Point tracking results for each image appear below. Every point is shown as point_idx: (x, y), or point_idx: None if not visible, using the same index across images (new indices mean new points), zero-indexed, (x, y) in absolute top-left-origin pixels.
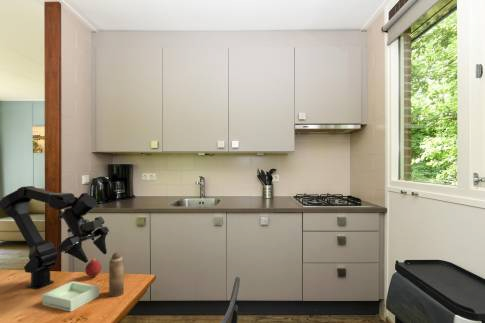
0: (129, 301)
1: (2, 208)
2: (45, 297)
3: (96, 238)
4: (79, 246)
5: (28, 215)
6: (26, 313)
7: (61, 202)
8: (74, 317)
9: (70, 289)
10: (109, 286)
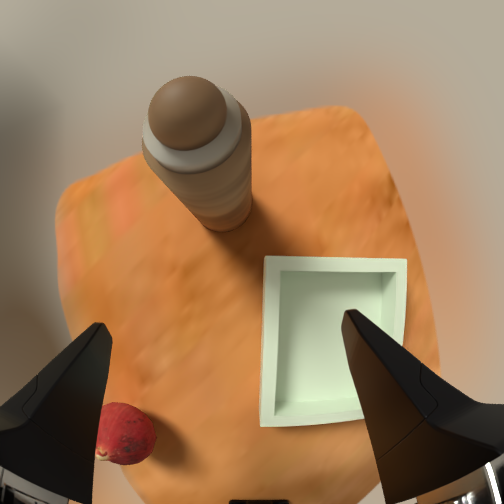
0: (259, 118)
1: None
2: None
3: (49, 499)
4: (478, 417)
5: None
6: None
7: None
8: (403, 217)
9: (279, 403)
10: (246, 207)
